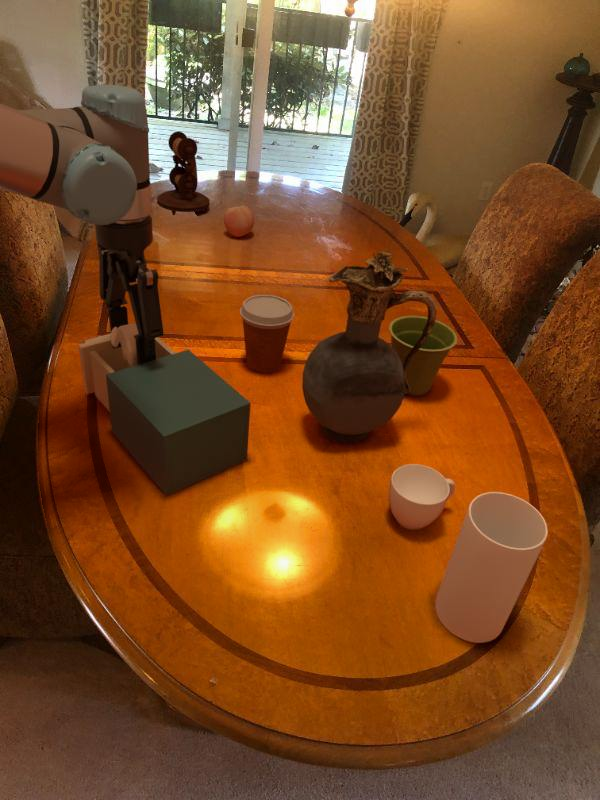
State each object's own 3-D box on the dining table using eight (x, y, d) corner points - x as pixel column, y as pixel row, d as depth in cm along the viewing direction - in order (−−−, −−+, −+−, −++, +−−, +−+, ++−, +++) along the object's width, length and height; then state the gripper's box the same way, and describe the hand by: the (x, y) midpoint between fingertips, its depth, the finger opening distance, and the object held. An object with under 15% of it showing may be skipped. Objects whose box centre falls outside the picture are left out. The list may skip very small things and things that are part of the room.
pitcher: (290, 412, 103) (309, 240, 85) (396, 405, 107) (435, 240, 90) (306, 455, 94) (331, 273, 77) (421, 445, 99) (469, 271, 81)
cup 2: (423, 616, 73) (456, 523, 63) (451, 572, 78) (485, 480, 69) (489, 656, 69) (534, 563, 60) (513, 607, 75) (557, 515, 66)
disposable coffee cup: (296, 374, 112) (303, 315, 105) (247, 381, 109) (250, 321, 102) (278, 347, 119) (283, 291, 112) (231, 353, 116) (233, 296, 109)
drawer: (71, 375, 104) (64, 329, 99) (138, 355, 111) (135, 311, 106) (128, 442, 91) (124, 393, 86) (200, 415, 98) (200, 368, 93)
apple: (247, 229, 168) (249, 200, 164) (257, 240, 163) (259, 210, 158) (219, 231, 165) (220, 201, 161) (228, 242, 160) (229, 211, 155)
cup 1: (372, 506, 87) (380, 470, 83) (431, 490, 91) (441, 455, 87) (401, 546, 81) (411, 510, 77) (462, 527, 85) (475, 492, 81)
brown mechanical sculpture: (217, 214, 175) (219, 140, 164) (168, 219, 169) (165, 142, 157) (197, 197, 185) (197, 127, 174) (150, 201, 179) (146, 128, 167)
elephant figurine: (145, 342, 101) (143, 310, 97) (165, 366, 95) (164, 333, 92) (104, 351, 97) (101, 318, 94) (123, 377, 92) (119, 342, 89)
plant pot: (368, 389, 110) (378, 335, 104) (391, 361, 119) (402, 309, 113) (430, 412, 106) (446, 357, 100) (450, 381, 115) (465, 328, 109)
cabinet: (111, 432, 94) (105, 374, 88) (188, 404, 102) (188, 349, 96) (166, 496, 84) (163, 436, 78) (247, 460, 92) (250, 402, 86)
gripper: (64, 194, 87) (82, 334, 100) (134, 246, 75) (144, 398, 88) (114, 188, 91) (125, 323, 104) (188, 236, 79) (189, 383, 92)
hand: (133, 357), depth 96 cm, fingers closed on elephant figurine, 8 cm apart
